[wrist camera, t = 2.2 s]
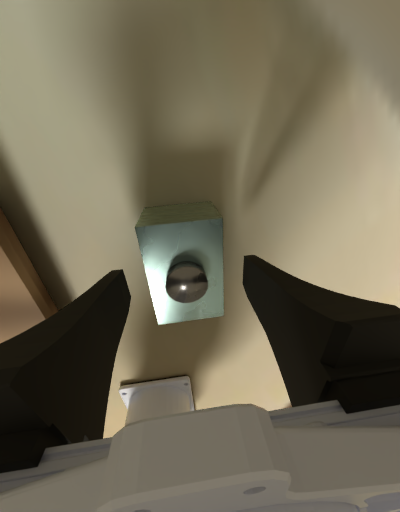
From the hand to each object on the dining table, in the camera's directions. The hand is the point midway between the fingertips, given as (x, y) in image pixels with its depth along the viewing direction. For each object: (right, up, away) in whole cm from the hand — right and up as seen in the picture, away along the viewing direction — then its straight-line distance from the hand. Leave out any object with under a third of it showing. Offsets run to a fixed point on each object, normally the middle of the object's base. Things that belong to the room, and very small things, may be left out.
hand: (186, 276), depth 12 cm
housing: (0, +2, +3) cm, 4 cm away
